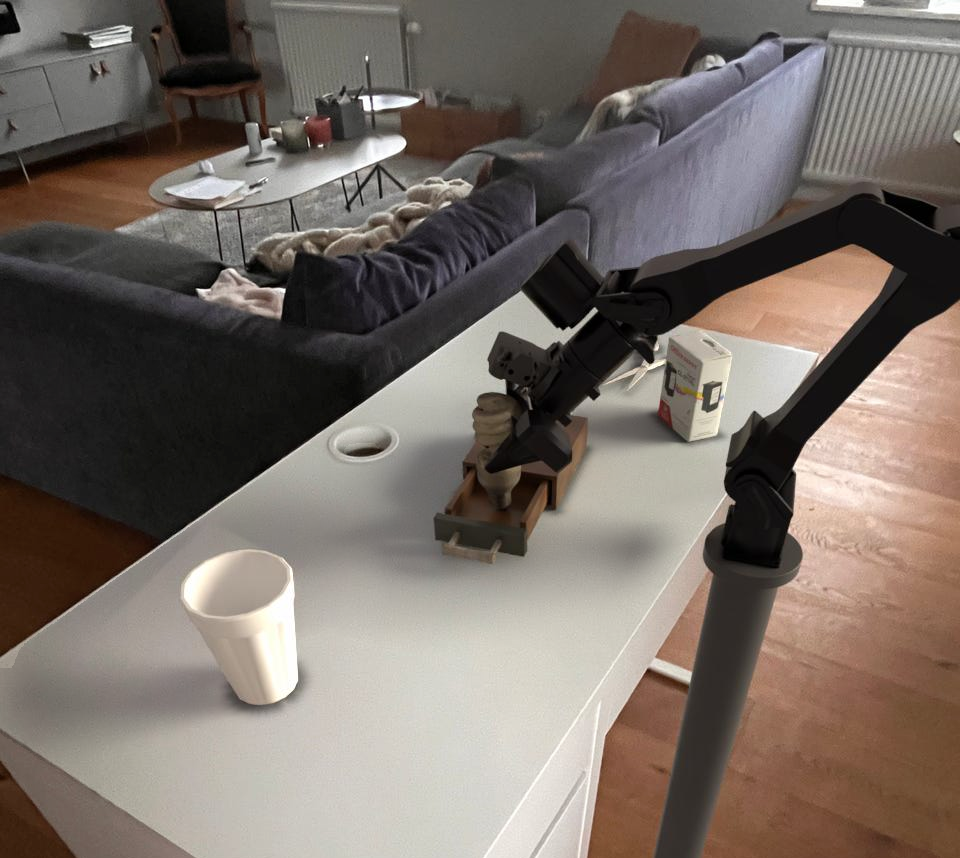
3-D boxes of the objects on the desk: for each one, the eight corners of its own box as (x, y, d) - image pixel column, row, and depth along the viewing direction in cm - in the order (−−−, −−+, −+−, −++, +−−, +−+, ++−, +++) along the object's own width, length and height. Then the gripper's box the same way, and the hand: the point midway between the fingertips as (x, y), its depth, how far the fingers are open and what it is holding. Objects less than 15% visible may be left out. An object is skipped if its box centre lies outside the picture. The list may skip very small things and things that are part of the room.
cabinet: (555, 510, 102) (557, 476, 98) (463, 494, 105) (462, 461, 102) (586, 449, 112) (588, 417, 109) (501, 436, 115) (501, 404, 112)
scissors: (706, 348, 132) (645, 396, 120) (705, 353, 132) (644, 401, 121) (647, 333, 137) (583, 378, 125) (647, 337, 137) (583, 382, 126)
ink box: (656, 415, 118) (666, 334, 110) (685, 408, 119) (698, 328, 111) (687, 443, 112) (701, 360, 104) (718, 435, 114) (734, 353, 105)
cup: (207, 667, 83) (170, 566, 74) (303, 638, 86) (278, 537, 77) (226, 736, 77) (188, 634, 68) (329, 702, 79) (306, 599, 70)
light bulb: (525, 521, 97) (524, 405, 87) (479, 525, 97) (473, 410, 86) (519, 494, 101) (517, 380, 91) (475, 498, 101) (468, 385, 90)
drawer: (514, 577, 91) (513, 554, 89) (422, 559, 94) (420, 536, 92) (558, 490, 103) (559, 468, 101) (476, 477, 106) (475, 455, 104)
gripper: (525, 276, 90) (432, 377, 97) (541, 348, 76) (432, 460, 83) (593, 342, 95) (500, 433, 102) (620, 421, 81) (510, 519, 89)
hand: (485, 458), depth 94 cm, fingers closed on light bulb, 5 cm apart
